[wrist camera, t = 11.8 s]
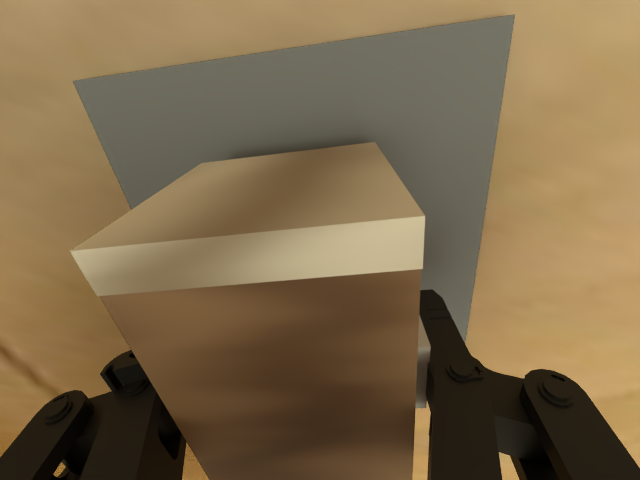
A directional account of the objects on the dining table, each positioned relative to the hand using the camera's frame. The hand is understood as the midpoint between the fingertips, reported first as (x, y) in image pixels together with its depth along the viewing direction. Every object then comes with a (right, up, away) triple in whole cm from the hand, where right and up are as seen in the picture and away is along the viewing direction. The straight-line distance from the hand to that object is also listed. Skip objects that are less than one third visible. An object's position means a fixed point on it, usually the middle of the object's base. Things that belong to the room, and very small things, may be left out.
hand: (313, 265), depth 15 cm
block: (+1, -9, -1) cm, 9 cm away
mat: (0, 0, +1) cm, 1 cm away
